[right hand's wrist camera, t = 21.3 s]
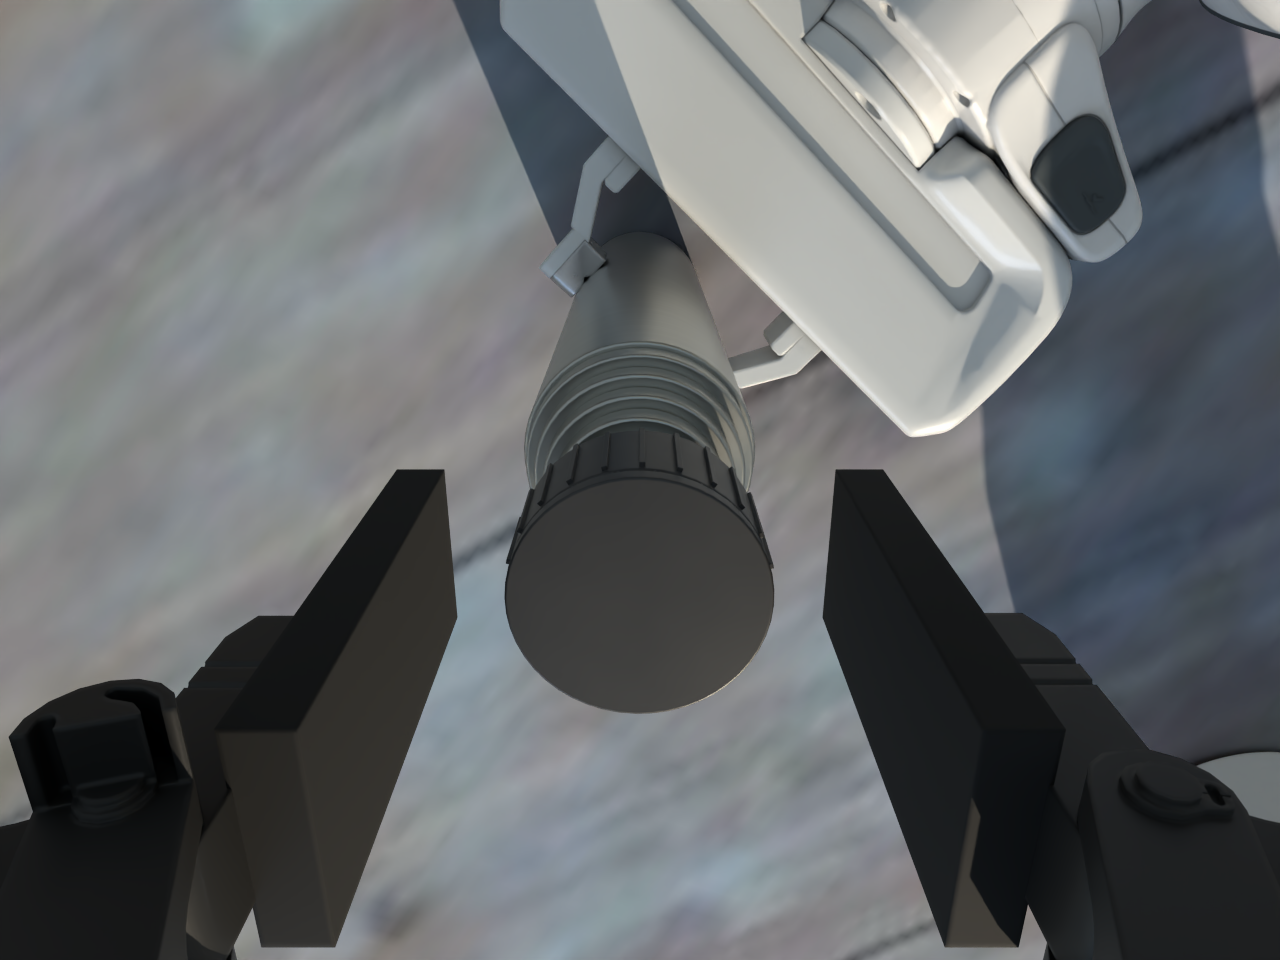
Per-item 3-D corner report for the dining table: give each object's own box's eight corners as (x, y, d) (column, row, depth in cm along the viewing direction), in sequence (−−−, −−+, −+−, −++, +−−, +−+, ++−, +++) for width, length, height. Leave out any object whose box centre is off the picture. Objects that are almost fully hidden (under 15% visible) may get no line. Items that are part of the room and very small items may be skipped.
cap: (553, 394, 14) (539, 438, 12) (795, 464, 14) (819, 518, 12) (494, 610, 15) (473, 680, 13) (715, 667, 16) (726, 744, 14)
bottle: (604, 364, 38) (548, 747, 15) (564, 254, 36) (426, 491, 13) (713, 328, 37) (834, 666, 14) (677, 214, 35) (747, 386, 12)
